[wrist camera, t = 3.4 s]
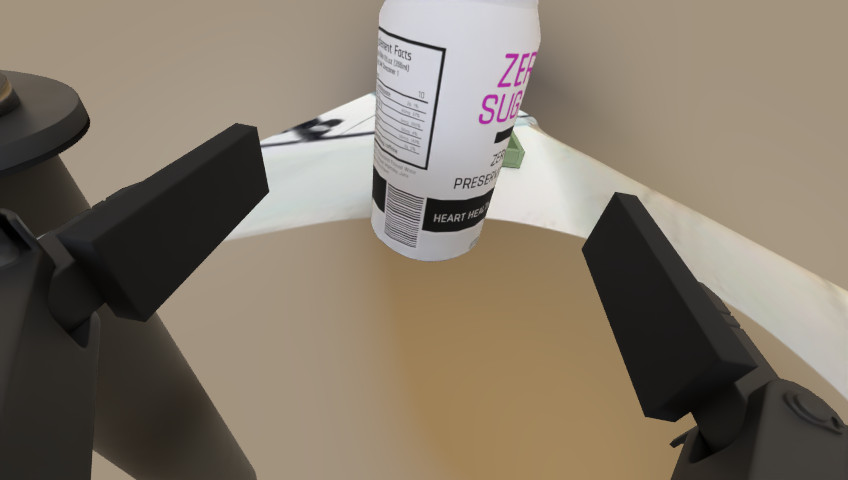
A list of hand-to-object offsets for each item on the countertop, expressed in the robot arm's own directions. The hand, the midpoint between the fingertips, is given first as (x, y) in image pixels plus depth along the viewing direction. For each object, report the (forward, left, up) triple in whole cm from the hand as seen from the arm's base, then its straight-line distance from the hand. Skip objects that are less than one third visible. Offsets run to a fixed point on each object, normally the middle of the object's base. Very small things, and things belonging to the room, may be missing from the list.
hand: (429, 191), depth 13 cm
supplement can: (+1, +9, -9) cm, 13 cm away
